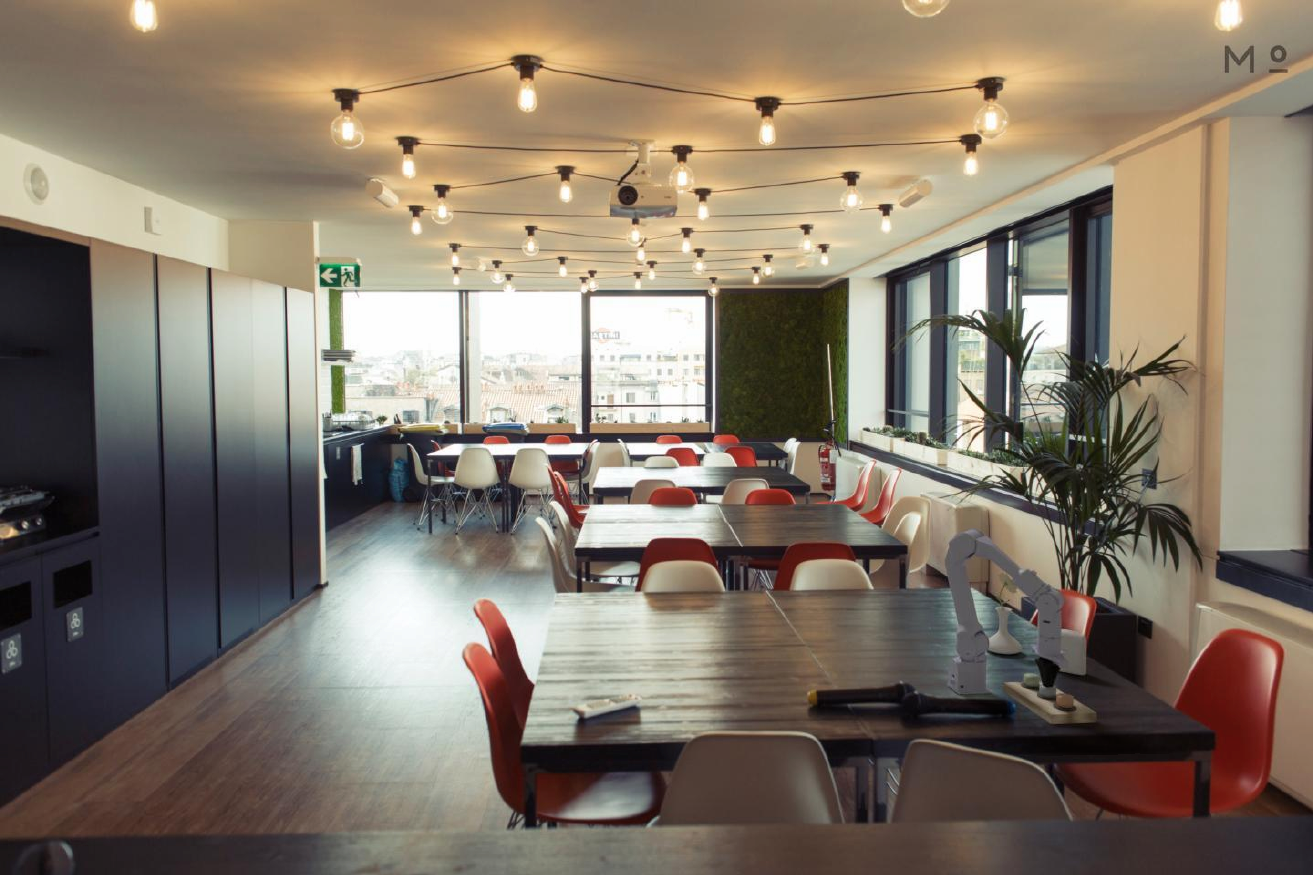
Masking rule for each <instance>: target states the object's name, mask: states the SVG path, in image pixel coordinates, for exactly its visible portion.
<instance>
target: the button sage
mask: <svg viewBox="0 0 1313 875" xmlns="http://www.w3.org/2000/svg"><path fill="white" fill-rule="evenodd" d="M1040 679H1041V675H1040V674H1036V673H1031V672H1027V673H1024V674H1023V682H1024V684H1025V685H1027V686H1031V687H1038V686H1040V681H1041V680H1040Z"/></svg>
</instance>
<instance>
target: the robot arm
mask: <svg viewBox="0 0 1313 875" xmlns="http://www.w3.org/2000/svg"><path fill="white" fill-rule="evenodd" d="M946 552H947V553H946V556H945V558H944V566H945V570H946V575H947V579H948V583H949V588H950V592H951V593H950V594H951V597H952V602H953V606H954V607H953V608H954V610H955V614H956V619H957V624H958V625H957V629H956V633H955V634H956V638H957V639H956V644H955V649H956V652H957V655H958V656H957V657H955V658H951V659H949V662H948V676H947V677H948V681H947V682H948V683H947V684H946V685H947V687H949V688H950V689H952V691H954V692H955V693H956V694H958V695H960V694H962V695H984V694H992V693H993V691H992V690H990V689H989V688H988V687H986V686H987V655H986V651H989V650H988V648H989V645H990V642H989V638H990V637H988V635H987V633H986V632H985V631H984V627H983V625H982V624H981V623H980V622H979V619H978V615H977V611H976V607H975V606H976V605H975V602H974V597H973V593H972V589H971V585H970V580H969V574H968V572H967V566H966V565H967V563H968V562H969V561H971V560H970V559H971V558H972V557H974V558H975V557H976V558H983V559H984V558H985V559H988V560H989V561H991V562H992V563H993V564H995V566H997V567H999V569H1000V570H1001V571H1002V572H1004V573H1005V574H1006V573H1007V575H1008V576H1009V577H1010V578H1011V579H1012V580H1013V584H1014V585H1015V587H1016V588H1017V589H1018V590H1019V591H1021V593H1023V594H1024V595H1025V596H1027V597H1028V598H1029V599H1030V600H1031V601H1032V602H1034V605H1035V608H1036V609H1037V612H1038V613H1037V635H1036V636H1037V637H1036V638H1037V639H1036V642H1037V644H1030V652H1031V653H1035V654H1036V655H1037V656H1038V658H1037V657H1036V658H1034V663H1035V664H1036V666H1037V668H1038V672H1039V676H1040V679H1041V681H1042V684H1043V686H1044V687H1053V686H1055V682H1056V678H1057V676H1058V674H1059V672H1060V671H1059V670H1060V669H1061V668H1068V660H1066V659H1065V658H1064V656H1063V655H1065V653H1064V652H1063V651H1061V629H1062V624H1063V623H1062V620H1063V619H1062V608H1063V606H1064V604H1065V596H1064V594H1063V593H1062V592H1061V591H1060V589H1058V588H1055V587H1053V586H1052V585H1051V584H1050V583H1048V584H1047V583H1046V582H1045V581H1044V580H1043V579H1041V578H1040V577H1039V576H1038V575H1037V574H1038V573H1037V571H1035V570H1034V569H1033V570H1031V569H1030V568H1022V567H1021V566H1019V565H1018V564H1017V563H1016V562H1015V561H1014V560H1012V558H1011V557H1010V556H1009V555H1007V553H1005V552H1004V551H1003V550H1002V549H1001V548H1000V547H999V546H998V545H997V544H995V542H994V541H993V540H992V539H991V538H990V537H989V536H987V535H985V534H984V533H983V531H982V530H980V529H977V528H970V529H968V530H966V531H964V532H958V533H957V534H956V535H954V536H953V538H952V539H951V540H949V542H948V549H947V551H946Z"/></svg>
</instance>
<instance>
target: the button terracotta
mask: <svg viewBox="0 0 1313 875" xmlns="http://www.w3.org/2000/svg"><path fill="white" fill-rule="evenodd" d="M1064 693H1065V692H1064ZM1064 693H1059V694H1057V697H1056V705H1057V706H1059V707H1062V708H1073V707H1074V699H1075V697H1074V695H1072V694H1069V693H1065V694H1064Z"/></svg>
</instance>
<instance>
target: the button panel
mask: <svg viewBox="0 0 1313 875" xmlns="http://www.w3.org/2000/svg"><path fill="white" fill-rule="evenodd" d="M1002 684H1003V685H1002V692H1004V693H1005V694H1007V695H1008V696H1010V698H1013V699H1014V701H1015V700H1016V701H1017V702H1018V703H1020V704H1021V705H1022V706H1024V707H1025V708H1027V709H1029V710H1030V711H1031V712H1033V713H1034V714H1036V715H1037V716H1038V717H1040V718H1041V719H1043V720H1044V721H1046V722H1047V723H1048V724H1050V725H1060V724H1061V725H1062V724H1063V725H1065V724H1081V723H1082V724H1083V723H1084V724H1085V723H1097V718H1098V717H1097V714H1098V713H1097V712H1096V711H1095V710H1093V709H1092V708H1090V707H1088V706H1086V705H1085V704H1084V703H1081V702H1080V701H1078V700H1077V699H1075V698H1074V707H1073V708H1062V707H1059V706H1057V705H1056V697H1057V694H1059V693H1064V694H1066V693H1065V692H1063V691H1061V689H1059V688H1057V687H1056V697H1055V698H1046V697H1042V696H1040V695H1039V690H1040V686H1038V687H1031V686H1027V685H1025V684H1024V681H1007V682H1002ZM1040 684H1042V680H1040Z"/></svg>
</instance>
